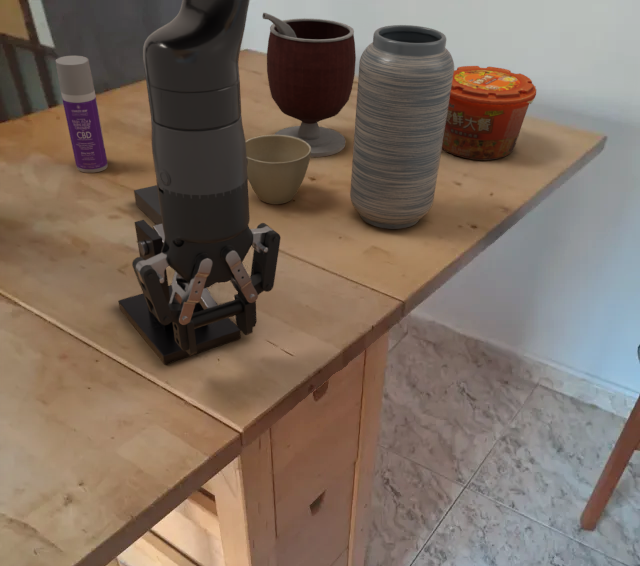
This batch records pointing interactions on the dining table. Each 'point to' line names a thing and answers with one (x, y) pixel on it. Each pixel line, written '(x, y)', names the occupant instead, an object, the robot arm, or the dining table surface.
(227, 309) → the lever
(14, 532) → the dining table surface
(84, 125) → the container
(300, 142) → the flower pot
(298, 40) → the mate gourd
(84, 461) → the dining table surface
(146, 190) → the button box
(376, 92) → the vase
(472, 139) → the food container
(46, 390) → the dining table surface
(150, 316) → the bracket
